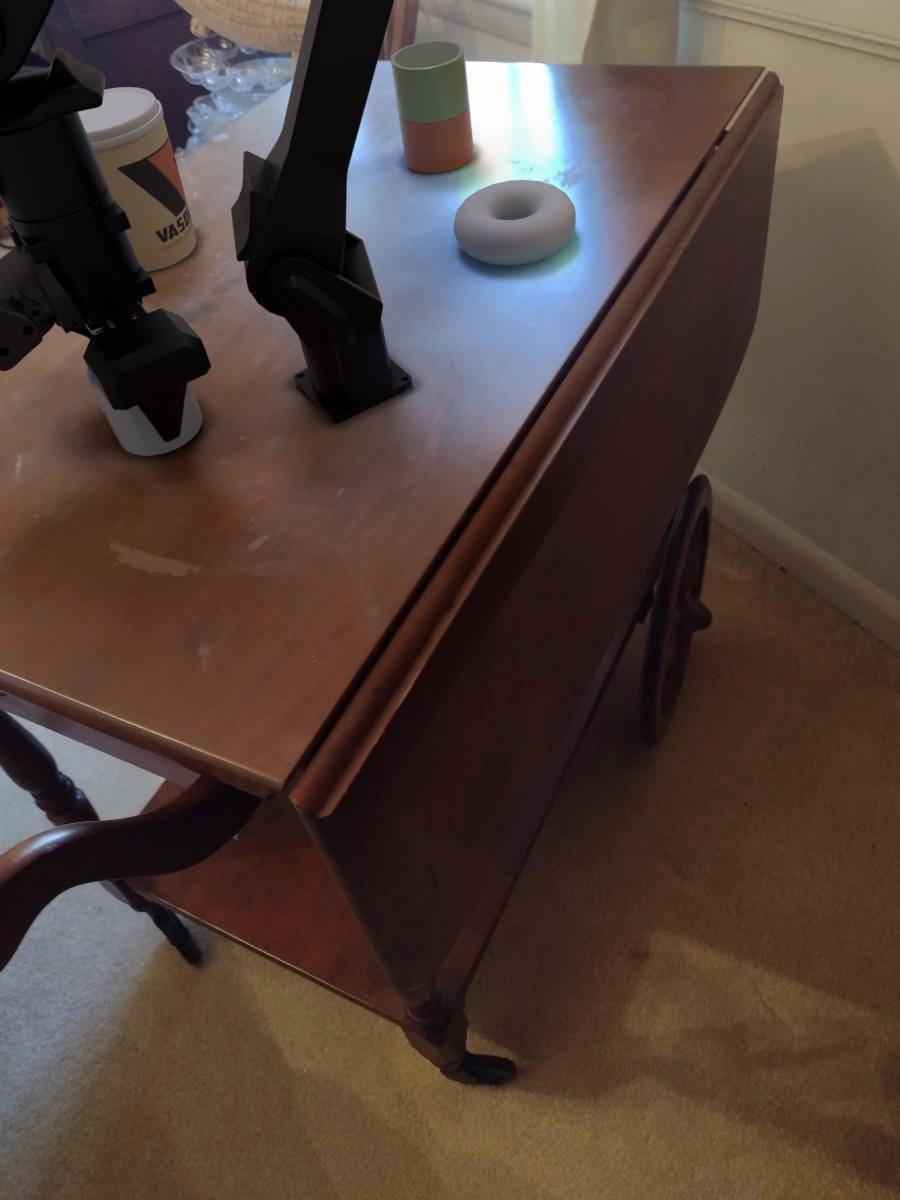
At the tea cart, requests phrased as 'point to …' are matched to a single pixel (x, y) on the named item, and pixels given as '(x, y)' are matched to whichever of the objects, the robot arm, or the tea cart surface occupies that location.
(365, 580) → the tea cart surface
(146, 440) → the blue cup
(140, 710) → the tea cart surface
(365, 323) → the robot arm
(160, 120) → the coffee cup
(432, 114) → the cup stack
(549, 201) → the donut
